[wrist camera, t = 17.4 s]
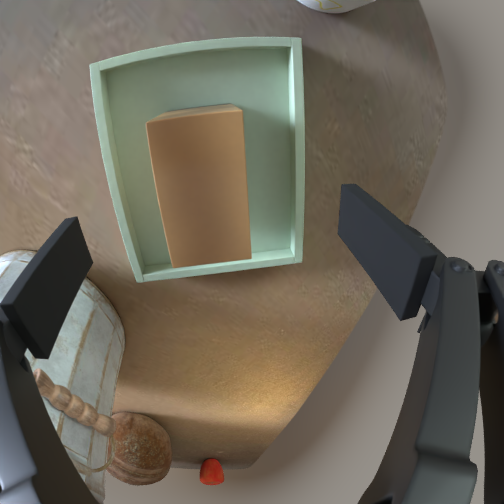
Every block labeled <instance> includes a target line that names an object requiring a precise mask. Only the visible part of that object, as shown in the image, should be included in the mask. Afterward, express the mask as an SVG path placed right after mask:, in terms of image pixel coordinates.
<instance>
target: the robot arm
mask: <svg viewBox="0 0 504 504" xmlns="http://www.w3.org/2000/svg"><path fill="white" fill-rule="evenodd" d="M338 235H339V236H340V238H341V239H342V240H343V241H344V243H345V244H346V245H347V247H348V248H349V249H350V251H351V252H352V253H353V255H354V256H355V257H356V259H357V260H358V261H359V263H360V264H361V265H362V267H363V268H364V270H365V271H366V272H367V274H368V275H369V276H370V278H371V279H372V281H373V282H374V283H375V285H376V286H377V288H378V289H379V290H380V292H381V293H382V295H383V296H384V298H385V299H386V301H387V302H388V303H389V305H390V306H391V308H392V309H393V311H394V312H395V313H396V315H397V317H398V318H399V320H400V321H402V320H406V319H409V318H413V317H416V316H417V313H418V311H419V308H420V306H421V304H422V306H423V307H424V308H425V309H426V313H425V316H424V317H423V320H422V322H421V325H420V327H419V329H418V331H417V332H418V333H420V331H421V333H420V339H419V343H418V348H417V352H416V358H415V361H414V365H413V369H412V374H411V377H410V381H409V385H408V388H407V392H406V395H405V398H404V402H403V405H402V408H401V411H400V414H399V417H398V420H397V423H396V426H395V429H394V432H393V434H392V437H391V440H390V442H389V445H388V447H387V450H386V452H385V455H384V457H383V460H382V462H381V464H380V467H379V469H378V471H377V473H376V475H375V477H374V479H373V481H372V483H371V484H370V485H369V487H368V488H367V489H366V491H365V492H364V494H363V495H362V497H361V499H360V500H359V502H358V504H470V502H471V498H472V495H473V492H474V488H475V484H476V480H477V472H478V470H477V466H476V464H474V463H473V462H471V461H470V459H469V456H470V449H471V444H472V439H473V433H474V426H475V420H476V413H477V404H478V393H479V390H480V398H481V406H482V415H483V427H484V445H485V477H484V478H485V479H484V504H504V263H503V262H502V261H497V260H491V261H489V263H488V265H487V268H486V270H485V271H475V270H474V268H473V267H472V265H471V264H469V263H468V262H467V261H465V260H462V259H460V258H456V257H449V258H447V257H446V256H445V255H444V254H443V253H442V252H441V251H440V250H438V249H437V248H436V247H435V246H434V245H433V244H432V243H430V241H429V240H428V239H427V238H424V236H423V235H422V234H421V233H420V232H418V231H417V230H416V229H414V228H412V227H410V226H408V225H405V224H404V223H403V222H402V221H401V220H399V219H398V218H397V217H396V216H395V215H394V214H392V213H391V212H390V211H389V210H388V209H386V208H385V207H384V206H383V205H382V204H380V203H379V202H378V201H377V200H375V199H374V198H373V197H372V196H370V195H369V194H368V193H367V192H365V191H364V190H363V189H361V188H360V187H359V186H358V185H356V184H342V185H341V200H340V213H339V224H338ZM92 264H93V261H92V259H91V256H90V253H89V250H88V247H87V245H86V242H85V239H84V236H83V233H82V230H81V227H80V224H79V220H78V217H72V218H67V219H65V220H64V221H63V222H62V223H61V224H60V225H59V227H58V228H57V229H56V230H55V231H54V232H53V233H52V235H51V236H50V237H49V238H48V239H47V241H46V242H45V243H44V244H43V245H42V247H41V248H40V249H39V250H38V252H37V253H36V254H35V255H34V257H33V258H32V259H31V261H30V262H29V263H28V264H27V266H26V267H25V268H24V270H23V271H22V272H21V274H20V275H19V277H18V278H17V279H16V281H15V282H14V284H13V285H12V286H11V288H10V289H9V291H8V292H7V294H6V295H5V297H4V298H3V300H2V301H1V303H0V504H100V503H99V502H98V501H97V500H96V499H95V497H94V496H93V495H92V493H91V492H90V490H89V488H88V487H87V485H86V484H85V482H84V481H83V479H82V477H81V476H80V474H79V472H78V471H77V469H76V467H75V466H74V464H73V462H72V460H71V459H70V457H69V455H68V453H67V451H66V449H65V447H64V446H63V444H62V442H61V440H60V438H59V436H58V434H57V431H56V429H55V427H54V425H53V423H52V421H51V418H50V416H49V414H48V412H47V409H46V407H45V404H44V402H43V399H42V397H41V394H40V392H39V389H38V386H37V383H36V381H35V378H34V375H33V372H32V369H31V366H30V363H29V360H28V359H27V357H26V356H25V352H26V350H27V348H28V350H29V351H30V352H31V354H32V355H33V356H34V358H35V359H49V357H50V355H51V352H52V349H53V347H54V344H55V342H56V340H57V337H58V335H59V332H60V330H61V328H62V325H63V323H64V321H65V319H66V316H67V314H68V312H69V310H70V308H71V306H72V303H73V301H74V299H75V297H76V295H77V293H78V291H79V289H80V287H81V285H82V283H83V281H84V279H85V277H86V275H87V273H88V271H89V269H90V268H91V266H92ZM497 313H498V321H497V323H496V321H495V316H496V314H497Z"/></svg>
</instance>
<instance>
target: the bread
mask: <svg viewBox="0 0 504 504" xmlns="http://www.w3.org/2000/svg"><path fill="white" fill-rule="evenodd" d="M111 418H113V419H114V420H115V422H116V430H115V432H114V433H113V434H112V435H113V437H114V441H115V455H114V458H113V461H112V463H111V464H110V465H109V466H108V467H107V468H106V470H107V471H108V472H109V473H110V474H111V475H112V476H113V477H116V478H117V479H119V480H121V481H123V482H125V483H128V484H131V485H148V484H153V483H155V482H158V481H160V480H162V479H163V478H164V477H165V476H166V475H167V473H168V471H169V469H170V466H171V462H172V447H171V442H170V438H169V435H168V433H167V432H166V431H165V429H164V428H163V427H162V426H160V425H159V424H158V423H157V422H155V421H154V420H152V419H151V418H149V417H147V416H145V415H142V414H137V413H131V412H120V413H116V414H114V415H112V417H111ZM111 450H112V445H111V439H110V436H109V443H108V453H107V461H108V460H109V458H110V455H111Z"/></svg>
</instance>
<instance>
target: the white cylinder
mask: <svg viewBox="0 0 504 504" xmlns="http://www.w3.org/2000/svg"><path fill="white" fill-rule="evenodd" d="M297 1H299V2H300V3H302V4H303V5H305V6H307V7H309V8H312V9H314V10H317V11H321V12H325V13H344V12H348V11H351V10H353V9H355V8H358V7H360V6H363V5H366V4H368V3H371V2H374V1H377V0H297Z"/></svg>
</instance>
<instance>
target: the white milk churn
mask: <svg viewBox="0 0 504 504" xmlns="http://www.w3.org/2000/svg"><path fill="white" fill-rule="evenodd" d="M36 253H37V252H36V251H30V250H15V251H10V252H7V253H5V254H3V255H1V256H0V303H1V301H2V300H3V298H4V297H5V295H6V294H7V292H8V291H9V289H10V288H11V286H12V285H13V284H14V282H15V281H16V279H17V278H18V277H19V275H20V274H21V272H22V271H23V270H24V268H25V267H26V266H27V264H28V263H29V262H30V261H31V259H32V258H33V257H34V255H35V254H36ZM124 349H125V333H124V329H123V325H122V322H121V320H120V318H119V316H118V314H117V312H116V310H115V309H114V307H113V306H112V304H111V303H110V301H109V300H108V299H107V298H106V296H105V295H104V294H103V293H102V292H101V291H100V290H99V289H98V288H97V287H96V286H95V285H94V284H93V283H92V282H91V281H90V280H89V279H88V278H86V277H85V279H84V281H83V283H82V285H81V287H80V289H79V291H78V293H77V295H76V297H75V299H74V301H73V303H72V306H71V308H70V310H69V312H68V314H67V316H66V319H65V321H64V323H63V325H62V328H61V330H60V332H59V335H58V337H57V340H56V342H55V344H54V347H53V349H52V352H51V355H50V357H49V359H35V358H34V356H33V355H32V354H31V352H30V351H29V350H28V348H27V350H26V352H25V356H26V357H27V359H28V360H29V363H30V366H31V369H32V372H33V375H34V378H35V381H36V383H37V386H38V389H39V392H40V394H41V397H42V399H43V402H44V404H45V407H46V409H47V412H48V414H49V416H50V418H51V421H52V423H53V425H54V427H55V429H56V431H57V434H58V436H59V438H60V440H61V442H62V444H63V446H64V447H65V449H66V451H67V453H68V455H69V457H70V459H71V460H72V462H73V464H74V466H75V467H76V469H77V471H78V472H79V474H80V476H81V477H82V479H83V481H84V482H85V484H86V485H87V487H88V488H89V490H90V492H91V493H92V495H93V496H94V497H95V499H96V500H97V501H98V502H99V503H100V504H103V501H104V499H105V478H106V468H107V467H108V466H109V465H110V464H111V463H112V461H113V458H114V455H115V441H114V437H113V435H112V434H113V433H114V432H115V430H116V422H115V420H114V419H113V418H111V417H112V410H113V403H114V396H115V390H116V384H117V379H118V373H119V369H120V365H121V361H122V356H123V353H124ZM109 436H110V439H111V445H112V450H111V455H110V458H109V460H108V461H107V453H108V443H109Z"/></svg>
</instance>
